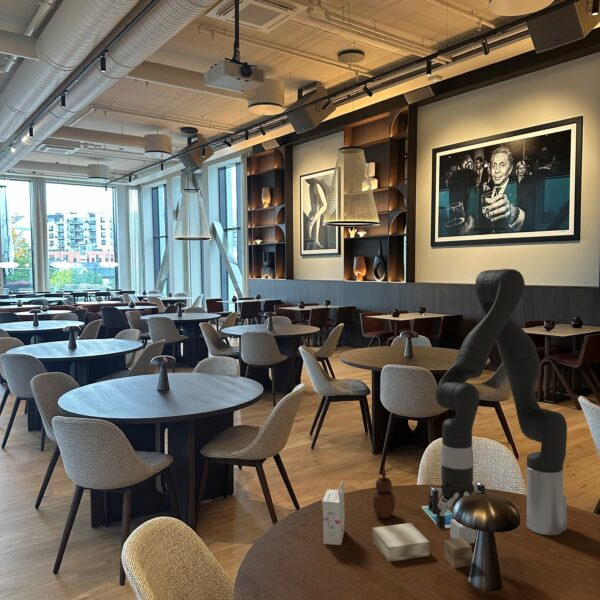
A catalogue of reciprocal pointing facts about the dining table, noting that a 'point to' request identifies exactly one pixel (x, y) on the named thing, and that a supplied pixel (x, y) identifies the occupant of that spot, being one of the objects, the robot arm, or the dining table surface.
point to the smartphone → (447, 515)
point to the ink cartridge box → (333, 516)
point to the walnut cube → (457, 552)
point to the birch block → (400, 542)
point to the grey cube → (462, 532)
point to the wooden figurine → (383, 497)
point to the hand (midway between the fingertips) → (457, 527)
